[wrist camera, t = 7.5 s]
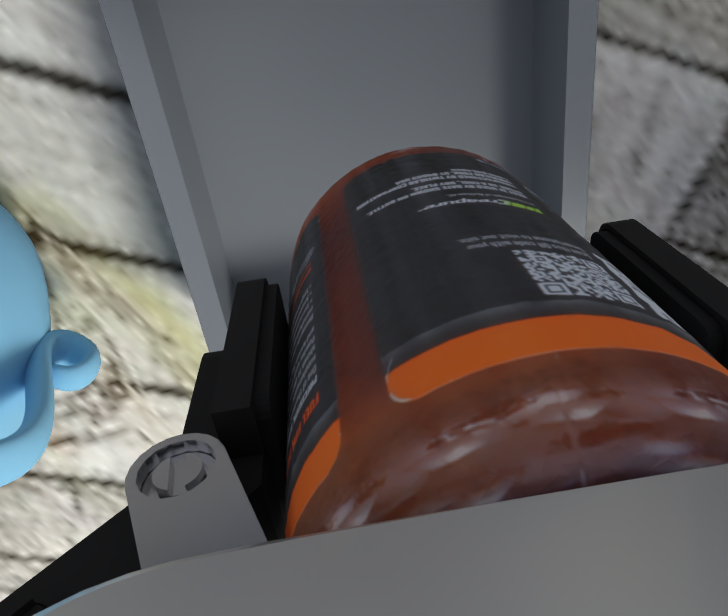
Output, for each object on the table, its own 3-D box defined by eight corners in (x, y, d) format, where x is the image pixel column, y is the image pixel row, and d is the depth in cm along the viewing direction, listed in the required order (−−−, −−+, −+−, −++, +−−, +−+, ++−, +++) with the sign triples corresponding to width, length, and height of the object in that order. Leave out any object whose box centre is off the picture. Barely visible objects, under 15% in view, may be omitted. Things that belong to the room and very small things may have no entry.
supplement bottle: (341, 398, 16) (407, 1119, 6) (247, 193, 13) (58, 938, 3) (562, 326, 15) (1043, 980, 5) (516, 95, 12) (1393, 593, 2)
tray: (552, -120, 22) (606, -140, 18) (544, 269, 30) (580, 313, 26) (119, -54, 22) (79, -61, 18) (227, 320, 30) (215, 372, 26)
